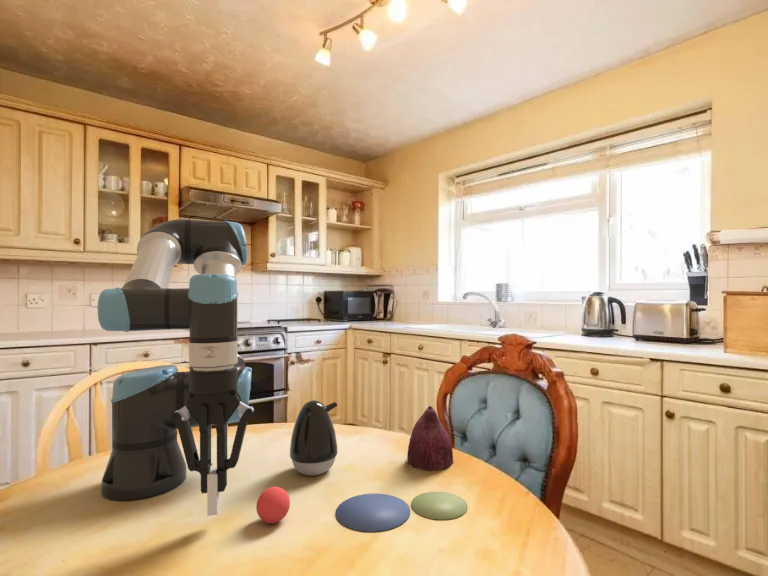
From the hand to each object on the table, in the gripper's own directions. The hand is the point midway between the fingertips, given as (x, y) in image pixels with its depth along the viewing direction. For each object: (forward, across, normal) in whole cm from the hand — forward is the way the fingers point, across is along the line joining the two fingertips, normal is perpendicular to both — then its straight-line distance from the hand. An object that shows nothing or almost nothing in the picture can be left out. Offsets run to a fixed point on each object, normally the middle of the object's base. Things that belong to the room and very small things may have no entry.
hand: (214, 511), depth 71 cm
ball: (0, +9, 0) cm, 9 cm away
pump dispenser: (+3, +16, +20) cm, 26 cm away
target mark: (+3, +26, 0) cm, 27 cm away
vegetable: (+3, +42, +20) cm, 47 cm away
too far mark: (+3, +38, 0) cm, 38 cm away
